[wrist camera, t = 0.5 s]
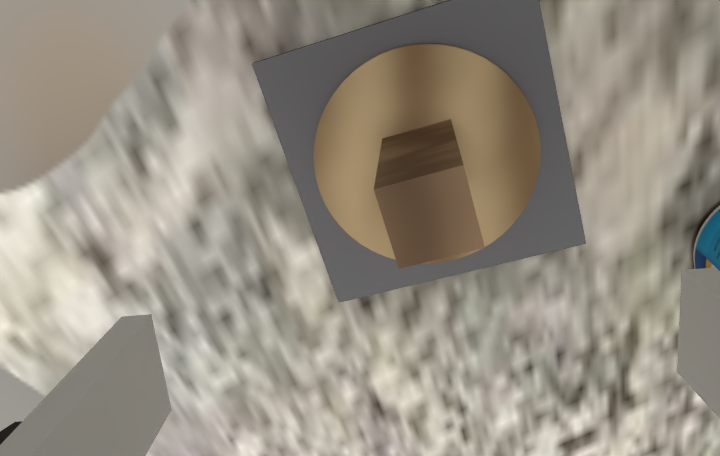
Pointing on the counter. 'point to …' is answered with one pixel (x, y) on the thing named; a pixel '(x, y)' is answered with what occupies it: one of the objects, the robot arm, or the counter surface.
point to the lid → (427, 153)
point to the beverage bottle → (708, 243)
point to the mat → (428, 25)
